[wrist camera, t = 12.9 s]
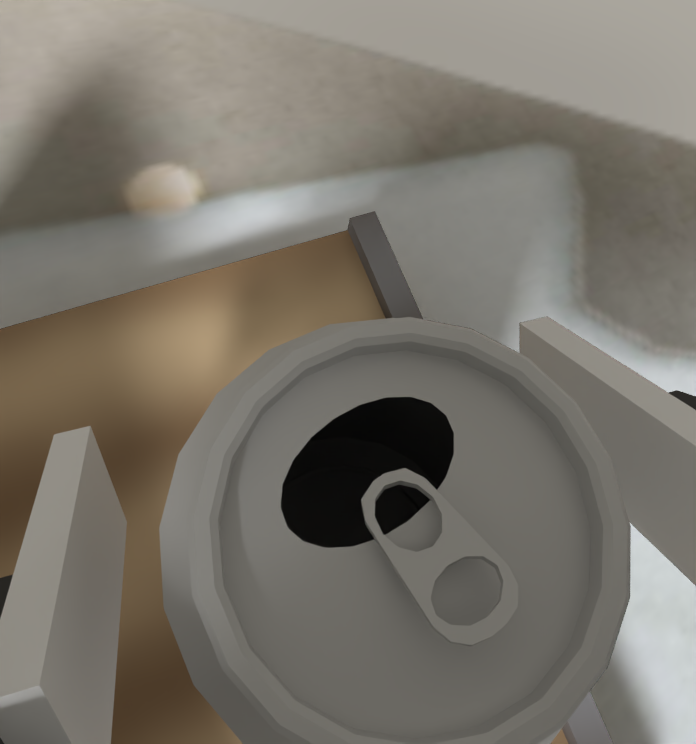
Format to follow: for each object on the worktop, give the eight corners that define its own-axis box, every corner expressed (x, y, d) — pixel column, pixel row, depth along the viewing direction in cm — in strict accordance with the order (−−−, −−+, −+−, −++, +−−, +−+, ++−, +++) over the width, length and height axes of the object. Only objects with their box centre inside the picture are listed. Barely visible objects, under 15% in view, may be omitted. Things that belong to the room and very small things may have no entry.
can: (367, 401, 21) (459, 193, 10) (504, 588, 20) (795, 588, 9) (175, 529, 19) (25, 449, 8) (310, 749, 18) (358, 1026, 7)
